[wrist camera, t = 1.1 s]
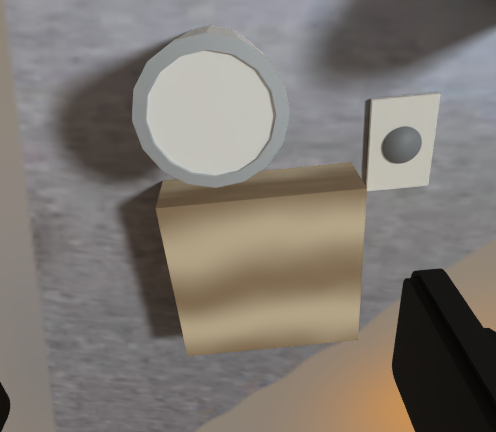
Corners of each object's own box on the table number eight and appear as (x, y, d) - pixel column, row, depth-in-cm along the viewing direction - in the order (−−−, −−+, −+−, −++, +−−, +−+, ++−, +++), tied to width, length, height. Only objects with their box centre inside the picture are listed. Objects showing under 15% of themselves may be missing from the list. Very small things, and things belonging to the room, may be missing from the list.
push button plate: (370, 98, 26) (372, 100, 26) (438, 92, 26) (441, 93, 26) (365, 189, 29) (367, 191, 29) (426, 183, 29) (428, 186, 29)
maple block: (163, 177, 29) (155, 208, 25) (349, 159, 29) (366, 188, 25) (191, 316, 35) (187, 356, 31) (344, 301, 35) (357, 339, 31)
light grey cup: (139, 113, 26) (114, 162, 20) (172, -9, 23) (154, 5, 17) (248, 151, 28) (256, 206, 22) (294, 41, 25) (316, 70, 19)
